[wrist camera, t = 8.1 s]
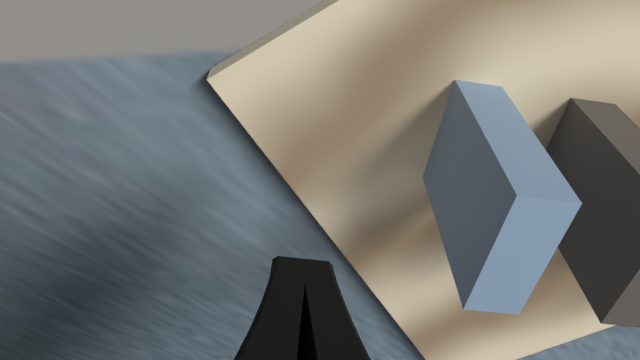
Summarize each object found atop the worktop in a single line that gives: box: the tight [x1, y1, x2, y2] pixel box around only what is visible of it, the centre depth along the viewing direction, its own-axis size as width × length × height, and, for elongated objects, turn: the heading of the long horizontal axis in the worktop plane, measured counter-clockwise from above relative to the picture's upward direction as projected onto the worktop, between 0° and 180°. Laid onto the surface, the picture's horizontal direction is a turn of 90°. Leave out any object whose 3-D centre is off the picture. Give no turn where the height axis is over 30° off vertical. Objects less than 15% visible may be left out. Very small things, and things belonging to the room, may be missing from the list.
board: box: [207, 0, 640, 360], centre depth 21 cm, size 22×26×1 cm
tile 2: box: [546, 98, 640, 327], centre depth 18 cm, size 2×4×7 cm, turn 171°
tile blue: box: [423, 80, 582, 315], centre depth 18 cm, size 2×4×7 cm, turn 171°
